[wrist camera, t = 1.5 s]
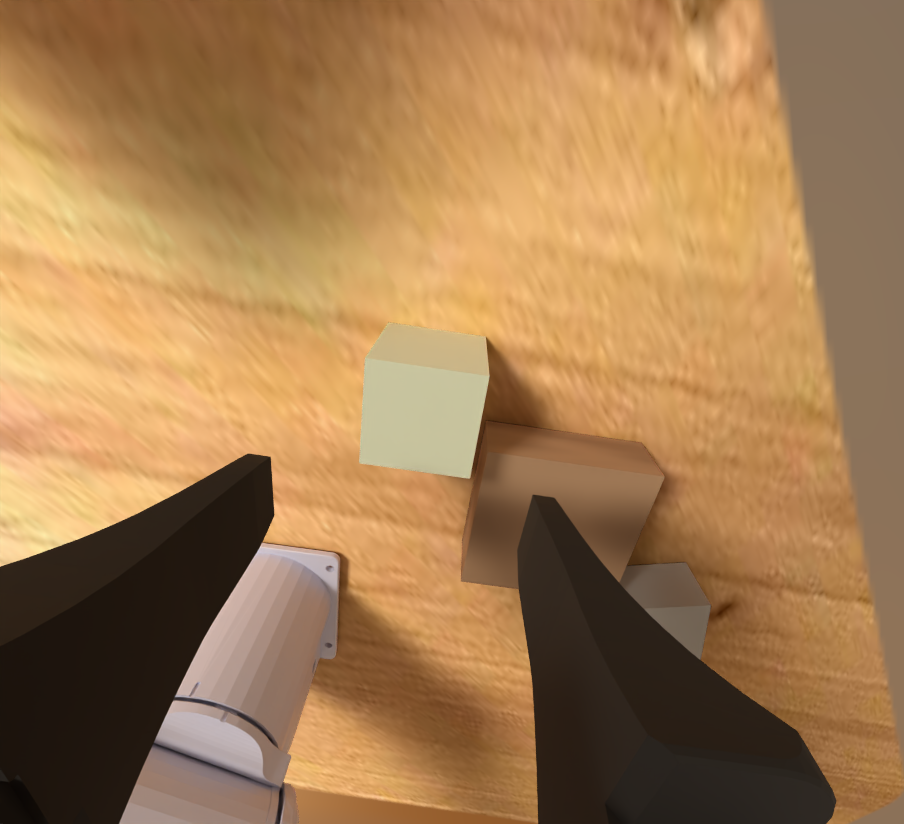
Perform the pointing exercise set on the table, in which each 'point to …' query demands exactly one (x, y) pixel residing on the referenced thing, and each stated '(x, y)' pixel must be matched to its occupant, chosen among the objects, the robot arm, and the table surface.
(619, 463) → the walnut block
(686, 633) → the slate block
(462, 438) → the sage block
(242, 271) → the table surface
